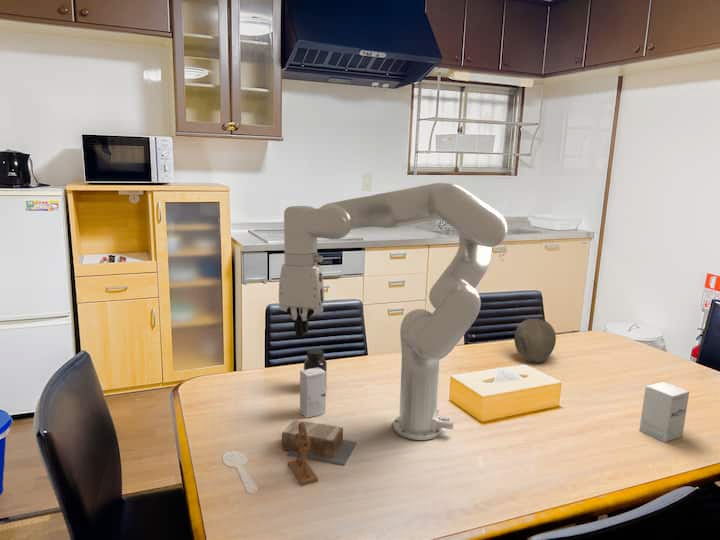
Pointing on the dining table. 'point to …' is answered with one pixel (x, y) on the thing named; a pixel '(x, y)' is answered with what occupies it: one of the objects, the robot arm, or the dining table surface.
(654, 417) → the supplement box
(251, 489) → the spoon
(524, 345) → the cantaloupe
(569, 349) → the dining table surface
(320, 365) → the supplement bottle
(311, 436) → the walnut box
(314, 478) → the wooden figurine
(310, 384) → the skincare box
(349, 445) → the rubber mat
